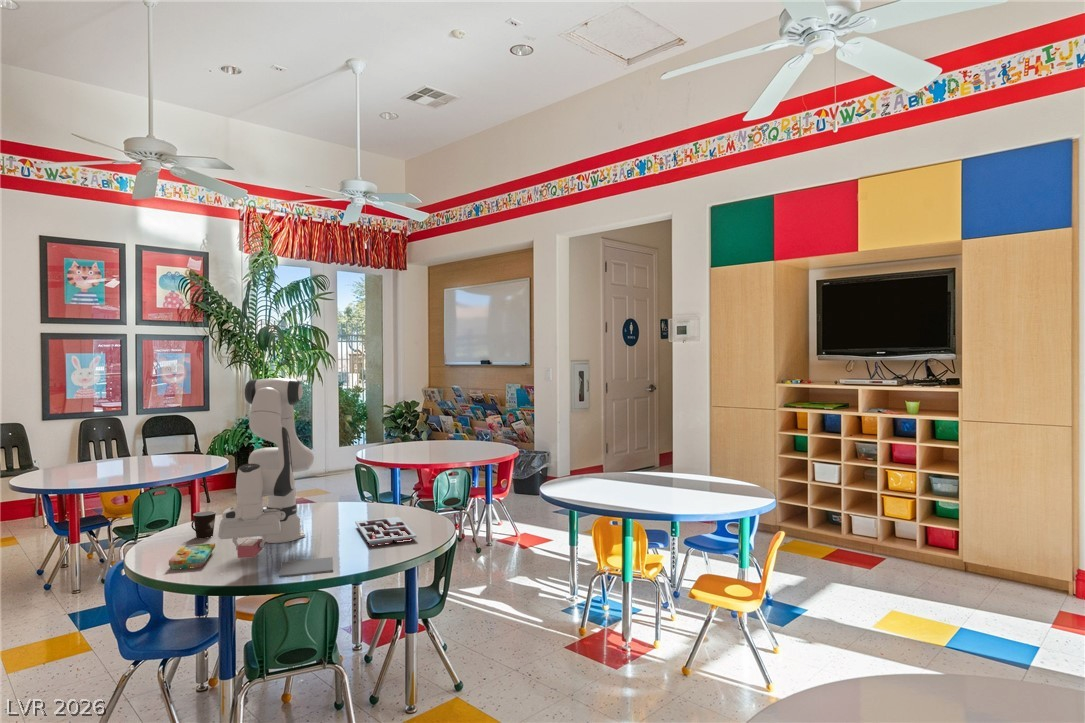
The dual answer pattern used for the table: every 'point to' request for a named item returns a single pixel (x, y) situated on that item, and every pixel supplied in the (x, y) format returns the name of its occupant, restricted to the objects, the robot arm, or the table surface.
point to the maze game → (394, 529)
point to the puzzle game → (191, 556)
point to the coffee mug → (204, 523)
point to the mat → (306, 567)
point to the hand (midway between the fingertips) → (250, 548)
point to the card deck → (249, 548)
